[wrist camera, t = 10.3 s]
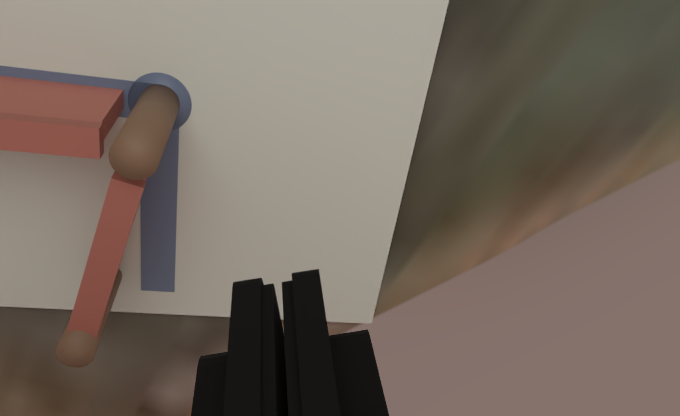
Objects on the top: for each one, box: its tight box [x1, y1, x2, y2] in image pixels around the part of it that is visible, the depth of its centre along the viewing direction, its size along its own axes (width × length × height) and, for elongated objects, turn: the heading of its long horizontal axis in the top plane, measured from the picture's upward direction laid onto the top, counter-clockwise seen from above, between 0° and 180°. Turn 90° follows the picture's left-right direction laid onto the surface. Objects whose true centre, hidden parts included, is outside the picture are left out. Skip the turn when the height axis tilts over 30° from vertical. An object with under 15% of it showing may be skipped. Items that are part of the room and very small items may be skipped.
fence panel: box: [55, 171, 146, 367], centre depth 29 cm, size 11×2×7 cm, turn 156°
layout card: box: [0, 0, 449, 324], centre depth 31 cm, size 28×24×1 cm
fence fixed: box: [0, 76, 180, 180], centre depth 26 cm, size 13×2×7 cm, turn 81°
